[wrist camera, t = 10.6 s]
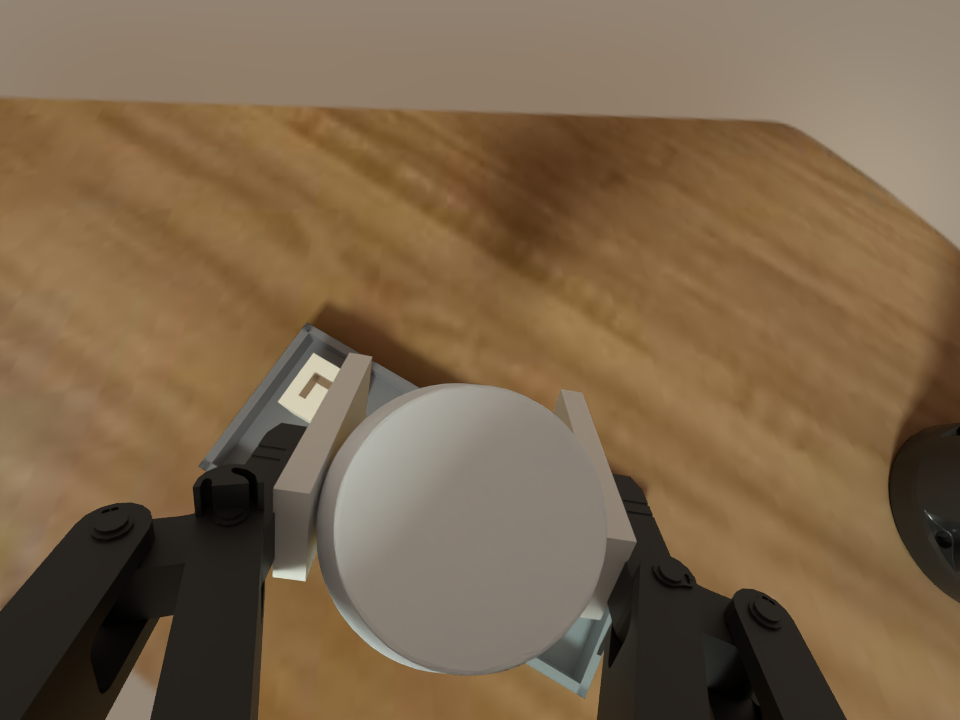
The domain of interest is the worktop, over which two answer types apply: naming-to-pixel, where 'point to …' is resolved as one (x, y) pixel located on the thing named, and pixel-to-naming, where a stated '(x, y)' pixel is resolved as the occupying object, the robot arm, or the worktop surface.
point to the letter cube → (309, 387)
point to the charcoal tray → (263, 403)
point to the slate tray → (575, 654)
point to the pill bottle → (461, 529)
